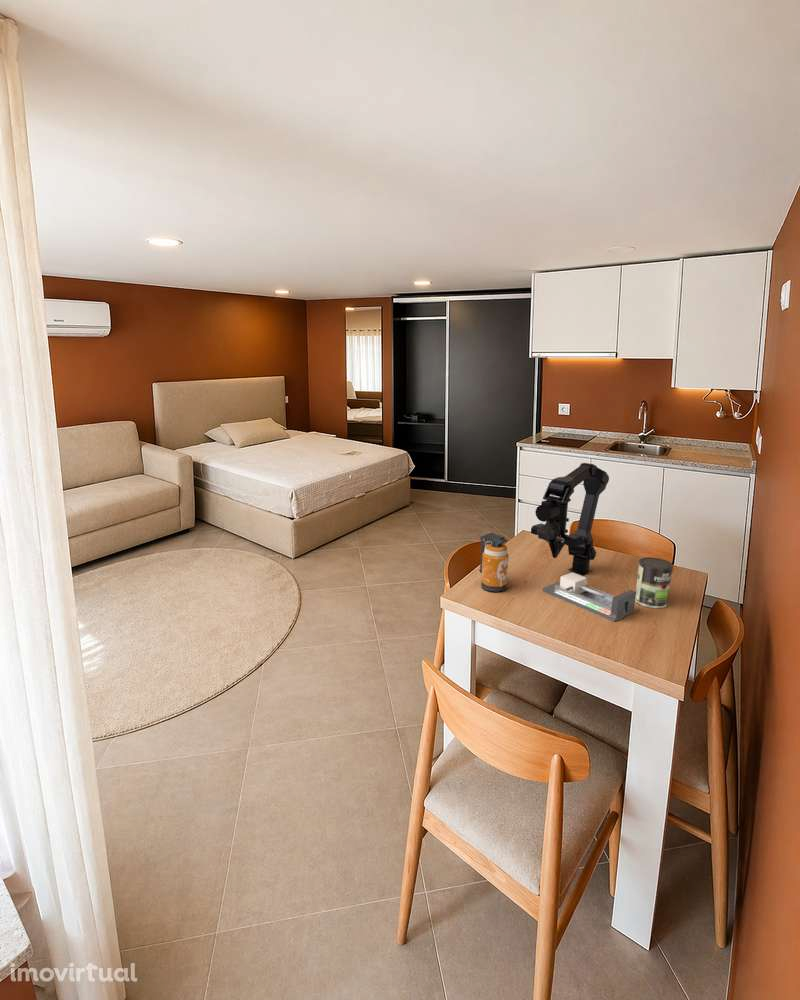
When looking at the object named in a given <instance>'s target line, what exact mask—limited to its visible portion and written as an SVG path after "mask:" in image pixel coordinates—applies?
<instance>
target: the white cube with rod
mask: <svg viewBox="0 0 800 1000" xmlns="http://www.w3.org/2000/svg"><path fill="white" fill-rule="evenodd" d="M559 580H560V586H561V587H564V588H566V590H567V591H568V590H571V591H573V592H576V593H578V594H580V593H583V592H585V591H587V592H590V593H592V594H595V595H597V596H600V597H602V598H604V597H605V594H602V593H600V592H597V591H594V590H592V589H589V588H587V587H586V585H587V580H588V577H586V576H584V575H580V574H577V573H574V572H572V571H571V572H569V573H567V574H564V575H562V576H560V579H559Z"/></svg>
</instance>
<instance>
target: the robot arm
mask: <svg viewBox="0 0 800 1000" xmlns="http://www.w3.org/2000/svg"><path fill="white" fill-rule="evenodd" d="M609 481H610V476H609V474H608V473H607V472H606V471H604V470H602V469H601V468H600V467H598V466H597V465H596V464H594V463H587V462H582V463H580V465H579V466H578V467H577V468H574V469H573V470H572V471H571V472H569V473H568V474H566V475H565V476H559V477H555V478H553V479H551V481H550V482H549V483H548V485H547V488H546V489H545V492H544V494H543V497H542V500H541V504H540V505H538V506H537V507H536V509H535V511H534V513H535V516H536V518H537V520H539V521H540V523H537V524H533V525H532V526H531V529H530V534H533V535H535V536H537V537H538V539H539V540H544V541H545V542H546V543H548V545H549V549H550V552H551V556H552V558H553V559H556V558H558V557H559V555H560V552H561V551H562V549H563V548H564V546H567V548H568V555H569V556H573V557H572V558H573V559H572V566H571V567H570V568H568V571H569V572H571V573H572V572H573V573H575V574H578V575H581V576H585V575H588V574H590V573H593V570H592V569H590V562H591V561H595V558H596V556H597V551H596V549H595V547H594V539H593V536H592V528H593V524H594V519H595V516H596V515H595V514H596V512H597V511H596V510H597V505H598V502H599V497H600V495H601V494H602V493H603V492H605V490H606V488H607V485H608V484H609ZM581 483H583V484H582V485H583V488H584V491H585V495H584V499H583V503H582V508H581V512H580V517H579V520H578V524H577V525H578V526H577V529H576V530H575V531H574V533H570V534H568V533H569V530H568V529H567V522H569V521H570V518H568V508H569V507H568V505H569V502H571V501H572V500H571V498H570V497H571V496H572V495H573V493H574V492H575V488H576V487H577V486H578V485H579V484H581ZM541 522H542V523H541ZM544 522H545V523H544Z"/></svg>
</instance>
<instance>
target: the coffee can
mask: <svg viewBox="0 0 800 1000" xmlns="http://www.w3.org/2000/svg"><path fill="white" fill-rule="evenodd" d="M673 568H674V564H673V563H672V562H671V561H668V560H666V559H664V558H663V559H662V558H659V557H648V556H646V557H641V558H640V559H639V560H638V568H637V569H638V570H637V579H636V587H635V592H636V598H635V603H637V604H639V605H640V606H643V607H646V608H651V609H663V608H666V607H667V606H668V599H669V593H670V586H671V579H672V573H673Z"/></svg>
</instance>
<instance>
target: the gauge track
mask: <svg viewBox="0 0 800 1000" xmlns="http://www.w3.org/2000/svg"><path fill="white" fill-rule="evenodd" d="M586 587H587V588H589V589H592V590H594V591H597V592H600V593H602V594H605V597H604V598H602V597H600V596H597V595H595V594H592V593H590V592H587V591H585V592H583V593H580V594H578V593H576V592H573V591H571V590H568V591H567V590H566V588H564V587H561V586H560V581H556V582H555V583H552V584H549V585H547V586H543V587H542V592H544V593H546V594H548V595H551V596H554V597H555V598H558V599H560V600H562V601H565V602H566V603H569V604H571V605H574V606H576V607H578V608H581V609H583V610H586V611H588V612H589V613H593V614H595V615H598V616H600V617H602V618H604V619H606V620H609V621H611V622H617V621H619V620H620V619H623V618H625V617H626V616H629V615H631V614H633V613H635V612H636V609H637V607H635V605H636V604H635V603H636V601H635V598H636V590H632V589H628V590H627V591H625V592H622V593H620V594H618V595H613V594H610V593H608V592H606V591H602V590H600V589H598V588H595V587H592V586H590V585H587V584H586Z"/></svg>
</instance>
